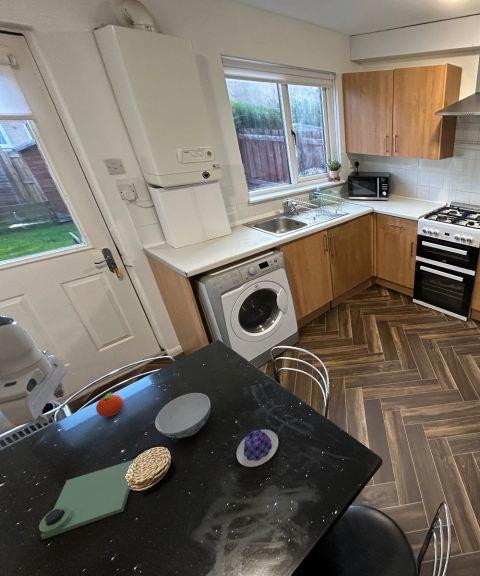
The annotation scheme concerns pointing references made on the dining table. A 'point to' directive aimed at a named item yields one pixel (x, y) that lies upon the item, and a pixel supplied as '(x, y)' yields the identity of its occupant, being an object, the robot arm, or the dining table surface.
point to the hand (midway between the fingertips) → (53, 407)
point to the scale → (90, 499)
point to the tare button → (54, 516)
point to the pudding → (257, 448)
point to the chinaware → (183, 415)
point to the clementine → (109, 405)
